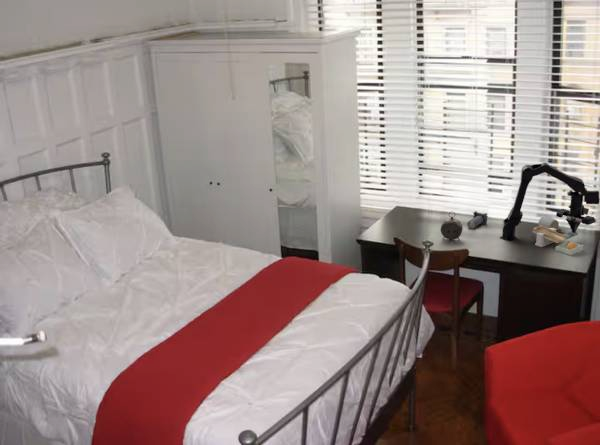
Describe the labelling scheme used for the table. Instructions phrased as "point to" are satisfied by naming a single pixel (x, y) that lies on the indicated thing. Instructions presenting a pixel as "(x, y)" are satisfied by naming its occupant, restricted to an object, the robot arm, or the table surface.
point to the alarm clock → (451, 228)
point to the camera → (477, 220)
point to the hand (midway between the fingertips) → (574, 232)
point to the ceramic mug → (548, 222)
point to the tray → (565, 250)
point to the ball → (571, 246)
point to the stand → (541, 241)
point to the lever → (552, 234)
